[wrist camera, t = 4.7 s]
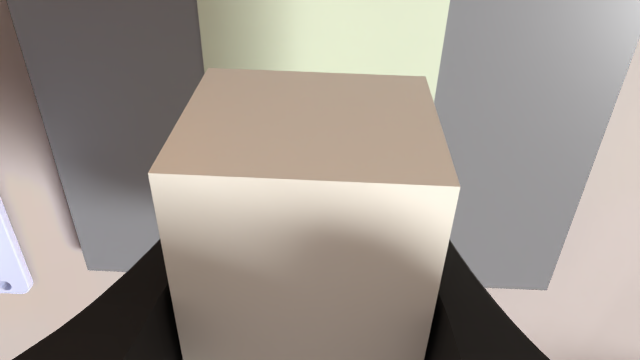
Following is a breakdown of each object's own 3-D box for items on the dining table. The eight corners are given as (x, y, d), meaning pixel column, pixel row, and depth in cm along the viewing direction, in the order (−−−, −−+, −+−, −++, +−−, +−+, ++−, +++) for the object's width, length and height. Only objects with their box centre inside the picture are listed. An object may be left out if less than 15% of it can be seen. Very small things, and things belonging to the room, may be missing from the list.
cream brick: (233, 327, 15) (202, 465, 12) (207, 68, 11) (147, 173, 8) (387, 335, 15) (399, 475, 12) (425, 76, 11) (460, 187, 8)
